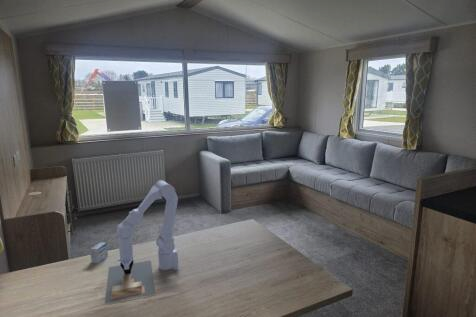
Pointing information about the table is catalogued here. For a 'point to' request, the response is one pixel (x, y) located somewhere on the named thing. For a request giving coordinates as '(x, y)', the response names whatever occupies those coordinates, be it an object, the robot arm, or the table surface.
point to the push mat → (138, 273)
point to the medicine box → (98, 252)
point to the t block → (126, 286)
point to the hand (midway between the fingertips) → (128, 275)
